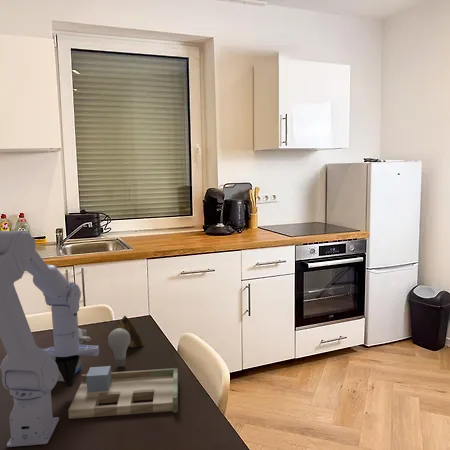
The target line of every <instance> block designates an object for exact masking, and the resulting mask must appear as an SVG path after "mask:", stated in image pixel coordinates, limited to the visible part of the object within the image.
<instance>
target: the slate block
mask: <svg viewBox="0 0 450 450" xmlns="http://www.w3.org/2000/svg"><path fill="white" fill-rule="evenodd" d="M111 367H112V366H111V365H107V366H106V365H105V366H90V367H89V370H88V372H87V373H86V374H87V376H86V381H87V392H97V391H109V388H110V385H111V382H112V379H111V372H112V368H111Z"/></svg>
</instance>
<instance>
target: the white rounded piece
mask: <svg viewBox="0 0 450 450" xmlns="http://www.w3.org/2000/svg"><path fill="white" fill-rule="evenodd" d="M78 331H79V345H84V342H91V341H92V338H91V337H90V336H87V335H88V334H87V329H84V328H83V329H82V328H80V327H78Z"/></svg>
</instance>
